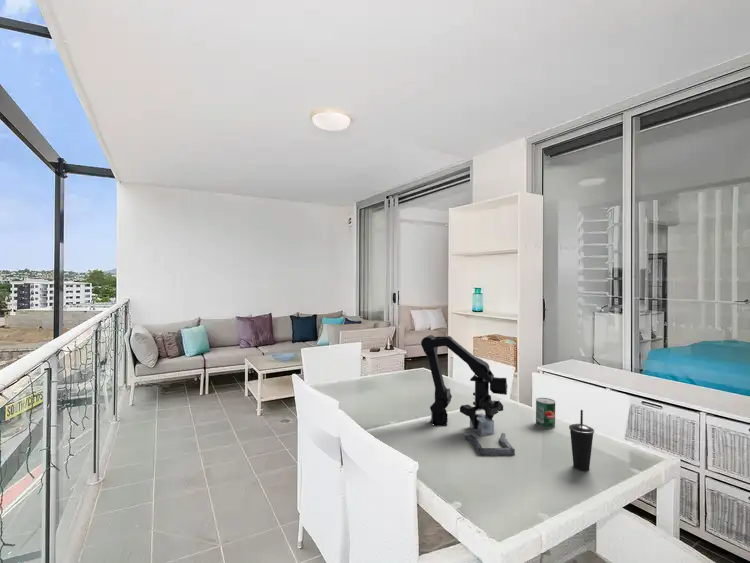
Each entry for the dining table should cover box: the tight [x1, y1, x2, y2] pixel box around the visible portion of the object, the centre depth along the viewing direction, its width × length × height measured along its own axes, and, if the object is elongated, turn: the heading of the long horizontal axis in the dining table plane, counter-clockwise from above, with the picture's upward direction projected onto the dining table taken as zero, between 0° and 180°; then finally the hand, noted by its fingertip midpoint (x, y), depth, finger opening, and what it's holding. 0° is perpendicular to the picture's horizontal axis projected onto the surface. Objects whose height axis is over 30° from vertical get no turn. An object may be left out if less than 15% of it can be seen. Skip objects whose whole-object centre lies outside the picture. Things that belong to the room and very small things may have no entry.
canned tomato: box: [535, 397, 556, 429], centre depth 168 cm, size 8×8×11 cm
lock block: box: [469, 412, 495, 436], centre depth 163 cm, size 6×9×6 cm, turn 17°
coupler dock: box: [464, 432, 516, 456], centre depth 148 cm, size 17×15×2 cm
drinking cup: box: [568, 409, 595, 472], centre depth 131 cm, size 8×8×20 cm
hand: (481, 427), depth 163 cm, fingers closed on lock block, 6 cm apart
